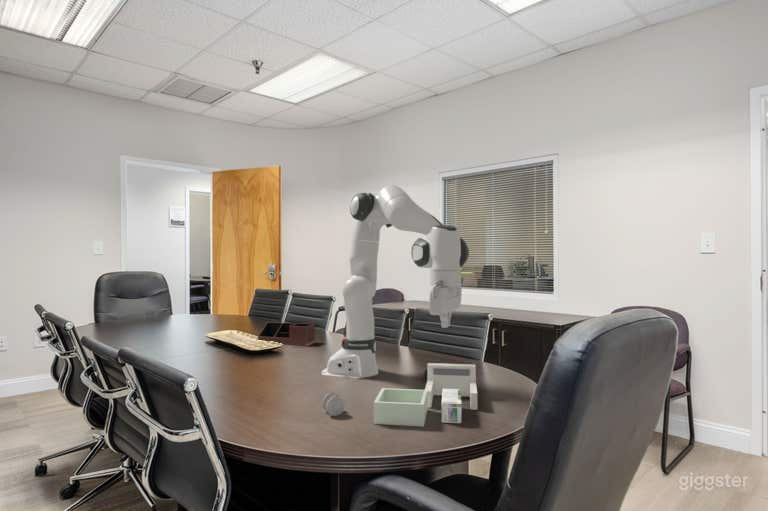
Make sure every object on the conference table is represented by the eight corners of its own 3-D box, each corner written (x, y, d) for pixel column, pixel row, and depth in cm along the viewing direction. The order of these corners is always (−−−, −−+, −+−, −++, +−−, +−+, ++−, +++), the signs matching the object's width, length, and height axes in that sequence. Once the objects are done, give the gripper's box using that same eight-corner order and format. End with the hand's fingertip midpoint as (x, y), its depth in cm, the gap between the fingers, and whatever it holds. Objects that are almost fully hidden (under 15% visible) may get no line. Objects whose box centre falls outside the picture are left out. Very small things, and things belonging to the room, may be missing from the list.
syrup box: (460, 407, 143) (462, 424, 129) (441, 406, 144) (441, 423, 130) (460, 388, 143) (462, 403, 129) (441, 387, 144) (441, 402, 130)
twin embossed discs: (326, 417, 135) (326, 396, 135) (322, 412, 139) (322, 392, 139) (344, 414, 137) (344, 394, 137) (340, 410, 141) (340, 390, 141)
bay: (424, 407, 143) (424, 375, 143) (428, 392, 159) (427, 362, 159) (477, 409, 141) (477, 376, 141) (475, 394, 156) (475, 364, 156)
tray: (373, 423, 129) (373, 402, 129) (382, 407, 143) (381, 388, 143) (423, 426, 127) (423, 404, 127) (427, 409, 141) (427, 389, 141)
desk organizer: (307, 348, 235) (306, 326, 235) (256, 346, 243) (256, 324, 243) (316, 345, 245) (315, 323, 245) (267, 342, 253) (267, 321, 253)
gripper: (445, 282, 125) (445, 333, 125) (464, 278, 144) (464, 323, 144) (423, 281, 128) (423, 331, 128) (445, 278, 146) (445, 321, 146)
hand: (445, 327), depth 136 cm, fingers closed
